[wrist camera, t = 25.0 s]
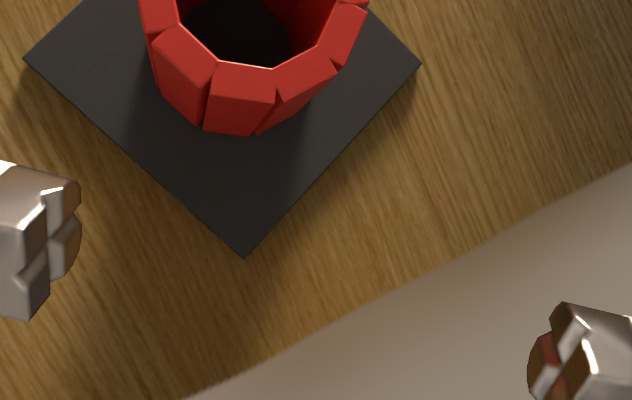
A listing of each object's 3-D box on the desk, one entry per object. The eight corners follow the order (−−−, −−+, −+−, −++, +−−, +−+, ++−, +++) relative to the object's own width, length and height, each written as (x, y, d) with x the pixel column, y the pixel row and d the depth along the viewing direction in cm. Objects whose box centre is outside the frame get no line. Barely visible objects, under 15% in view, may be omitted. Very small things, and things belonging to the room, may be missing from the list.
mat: (243, 259, 24) (243, 259, 23) (23, 60, 22) (20, 57, 22) (419, 65, 25) (423, 62, 25) (227, -131, 24) (228, -137, 23)
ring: (242, 170, 23) (266, 152, 16) (111, 50, 22) (78, -23, 16) (348, 55, 24) (412, -7, 17) (227, -64, 23) (244, -180, 17)
